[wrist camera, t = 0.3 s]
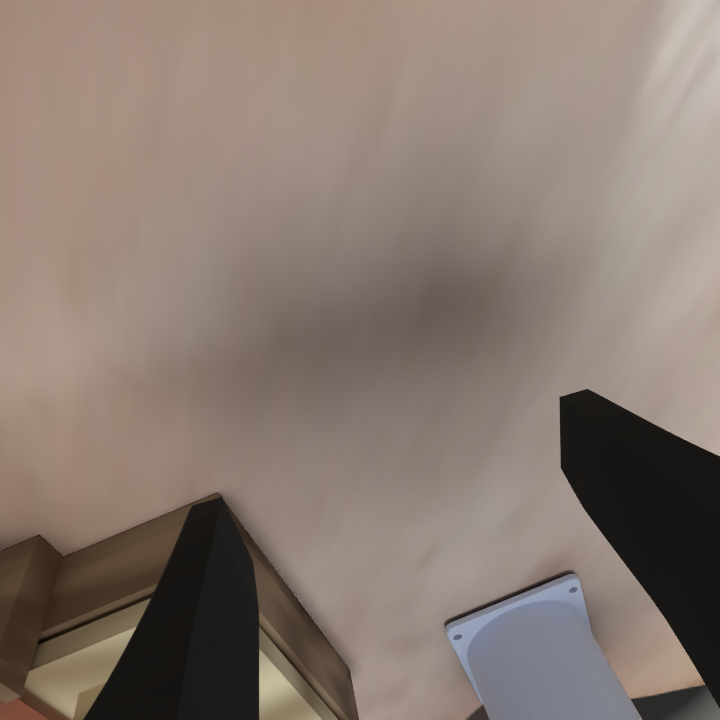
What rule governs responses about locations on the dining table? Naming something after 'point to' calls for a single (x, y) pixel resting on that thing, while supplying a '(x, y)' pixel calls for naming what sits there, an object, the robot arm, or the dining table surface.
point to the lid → (102, 652)
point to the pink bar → (18, 711)
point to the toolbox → (134, 585)
